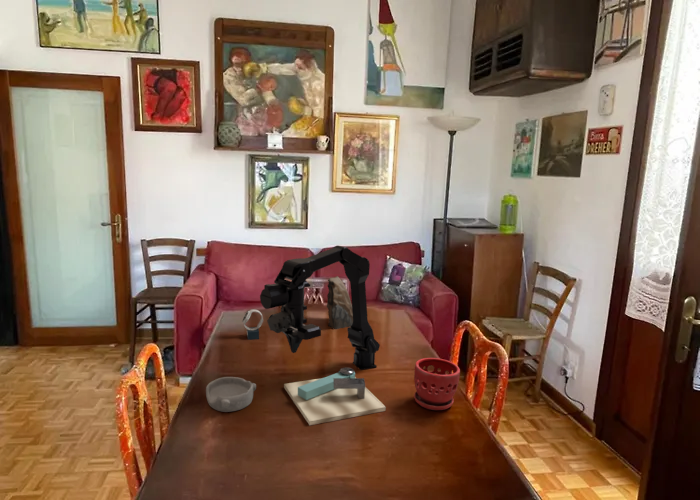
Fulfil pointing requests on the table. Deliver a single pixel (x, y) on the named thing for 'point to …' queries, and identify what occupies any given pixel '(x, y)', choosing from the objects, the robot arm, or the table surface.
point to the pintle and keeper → (350, 382)
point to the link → (320, 386)
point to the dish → (229, 393)
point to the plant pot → (435, 383)
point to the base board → (333, 404)
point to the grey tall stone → (339, 304)
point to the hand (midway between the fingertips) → (293, 352)
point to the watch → (252, 331)
